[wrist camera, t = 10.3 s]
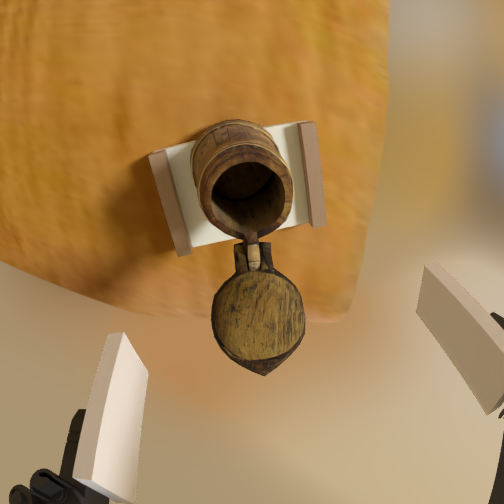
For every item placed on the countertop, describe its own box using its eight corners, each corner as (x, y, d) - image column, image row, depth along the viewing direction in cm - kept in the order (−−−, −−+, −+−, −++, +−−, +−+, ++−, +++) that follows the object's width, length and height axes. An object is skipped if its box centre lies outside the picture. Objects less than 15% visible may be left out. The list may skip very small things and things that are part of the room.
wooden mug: (198, 248, 33) (191, 384, 17) (187, 122, 26) (145, 153, 11) (279, 242, 34) (332, 368, 18) (280, 118, 27) (366, 145, 11)
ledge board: (154, 150, 29) (148, 155, 26) (306, 120, 29) (315, 122, 26) (180, 244, 34) (178, 256, 31) (317, 215, 34) (326, 225, 32)
